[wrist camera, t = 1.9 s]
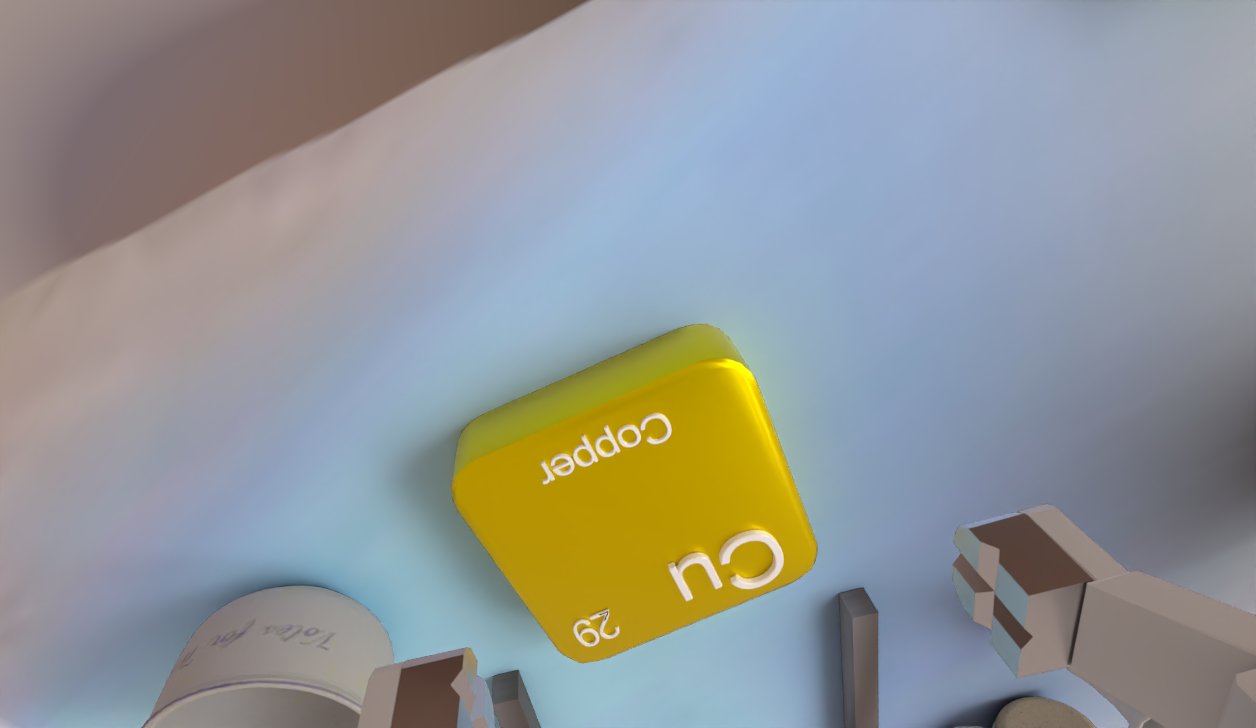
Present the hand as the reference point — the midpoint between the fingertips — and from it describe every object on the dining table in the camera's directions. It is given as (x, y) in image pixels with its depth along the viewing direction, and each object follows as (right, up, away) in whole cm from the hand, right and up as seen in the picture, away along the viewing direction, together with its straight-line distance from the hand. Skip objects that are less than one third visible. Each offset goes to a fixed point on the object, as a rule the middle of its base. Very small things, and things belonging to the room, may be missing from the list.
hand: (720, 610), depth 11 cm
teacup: (-21, -11, +27) cm, 36 cm away
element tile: (-1, -2, +26) cm, 26 cm away
